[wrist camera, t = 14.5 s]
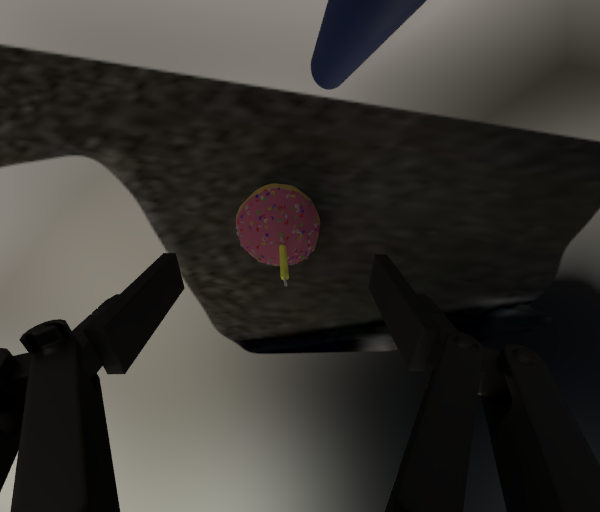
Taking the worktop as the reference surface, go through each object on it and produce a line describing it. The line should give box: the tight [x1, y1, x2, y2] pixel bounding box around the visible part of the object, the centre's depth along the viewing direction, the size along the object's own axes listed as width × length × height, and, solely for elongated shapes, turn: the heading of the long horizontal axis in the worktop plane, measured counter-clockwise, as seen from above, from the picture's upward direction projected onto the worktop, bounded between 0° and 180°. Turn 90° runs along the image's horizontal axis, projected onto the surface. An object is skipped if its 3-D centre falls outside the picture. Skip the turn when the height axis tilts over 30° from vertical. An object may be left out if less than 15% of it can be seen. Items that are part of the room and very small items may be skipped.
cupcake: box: [236, 183, 320, 286], centre depth 23 cm, size 9×8×12 cm
